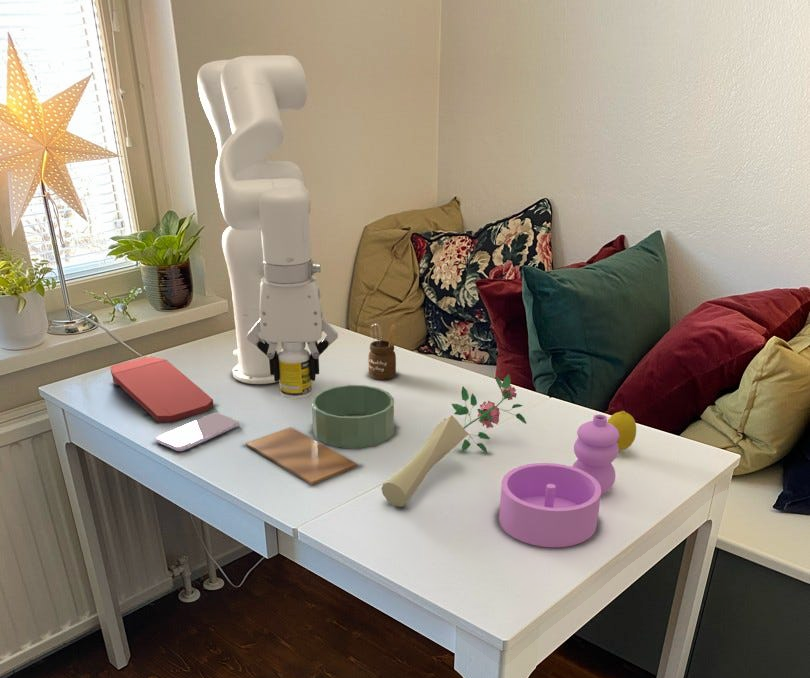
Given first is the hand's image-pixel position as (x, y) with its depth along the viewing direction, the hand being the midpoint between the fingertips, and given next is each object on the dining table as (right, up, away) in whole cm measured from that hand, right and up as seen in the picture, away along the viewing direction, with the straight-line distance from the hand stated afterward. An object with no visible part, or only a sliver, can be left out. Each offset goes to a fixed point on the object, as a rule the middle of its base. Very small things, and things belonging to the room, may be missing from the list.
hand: (295, 377), depth 150 cm
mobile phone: (-20, -8, +16) cm, 27 cm away
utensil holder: (+14, +8, +40) cm, 43 cm away
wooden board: (0, -13, +8) cm, 15 cm away
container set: (+44, -23, -7) cm, 51 cm away
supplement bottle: (0, -3, +2) cm, 3 cm away
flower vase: (+27, -15, +5) cm, 31 cm away
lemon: (+57, -12, +10) cm, 59 cm away
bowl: (+9, -7, +17) cm, 21 cm away
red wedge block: (-32, +1, +30) cm, 44 cm away
